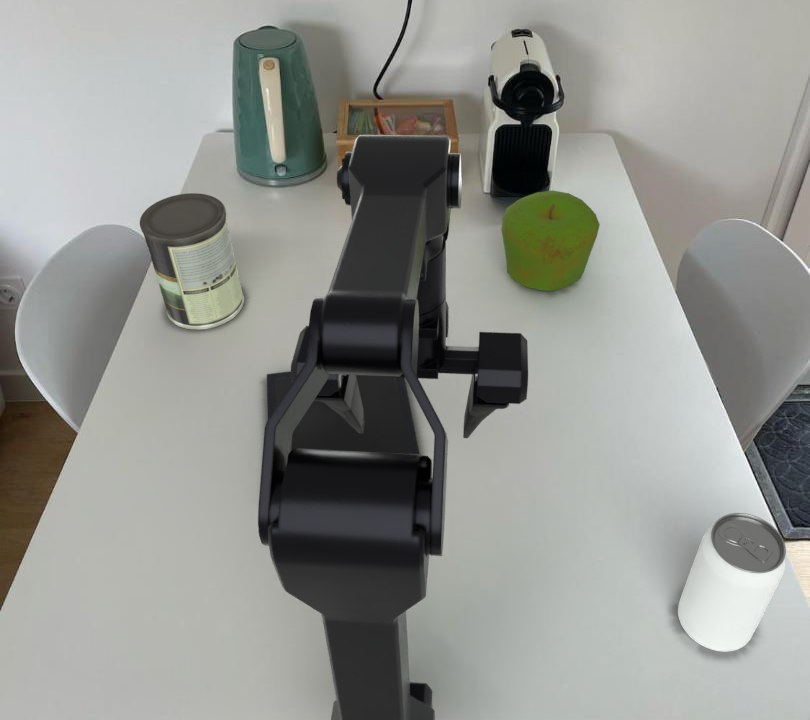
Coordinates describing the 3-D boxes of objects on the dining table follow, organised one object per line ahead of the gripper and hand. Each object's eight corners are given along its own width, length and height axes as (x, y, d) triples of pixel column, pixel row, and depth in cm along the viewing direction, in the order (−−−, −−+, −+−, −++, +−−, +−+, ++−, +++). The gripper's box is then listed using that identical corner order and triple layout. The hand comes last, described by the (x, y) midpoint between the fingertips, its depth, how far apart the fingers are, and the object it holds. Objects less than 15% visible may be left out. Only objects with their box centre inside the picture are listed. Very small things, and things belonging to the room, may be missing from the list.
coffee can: (153, 326, 105) (124, 234, 95) (185, 278, 112) (161, 189, 103) (228, 334, 103) (206, 242, 94) (255, 286, 111) (237, 196, 101)
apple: (513, 242, 116) (518, 172, 108) (599, 258, 112) (610, 187, 105) (487, 293, 108) (491, 221, 100) (579, 312, 104) (589, 239, 96)
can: (700, 575, 75) (731, 495, 67) (766, 619, 72) (807, 540, 64) (662, 620, 72) (689, 542, 64) (728, 669, 69) (766, 593, 61)
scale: (424, 480, 85) (423, 471, 84) (270, 501, 84) (268, 491, 82) (400, 365, 98) (400, 355, 97) (268, 381, 97) (266, 371, 96)
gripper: (531, 234, 66) (519, 372, 76) (304, 229, 67) (324, 364, 78) (534, 324, 58) (520, 464, 68) (277, 315, 59) (302, 453, 70)
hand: (413, 431), depth 71 cm, fingers open, 9 cm apart
